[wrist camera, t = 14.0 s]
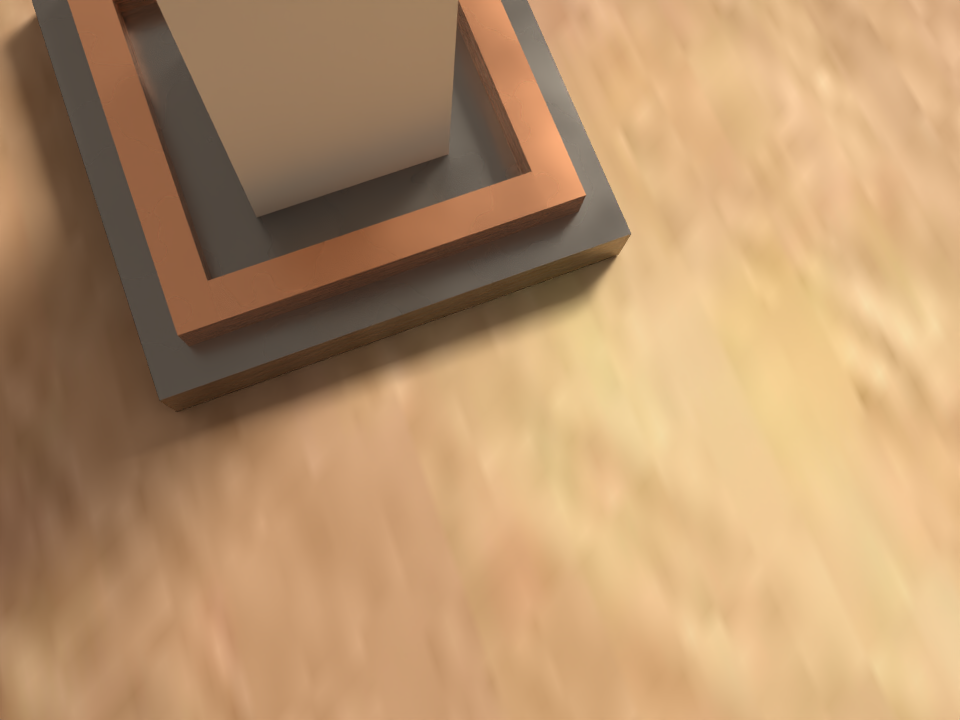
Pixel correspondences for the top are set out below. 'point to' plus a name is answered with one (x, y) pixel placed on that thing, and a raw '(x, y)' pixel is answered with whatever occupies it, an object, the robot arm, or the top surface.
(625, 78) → the top surface
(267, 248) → the seat plate
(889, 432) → the top surface
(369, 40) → the sleeve
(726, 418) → the top surface
